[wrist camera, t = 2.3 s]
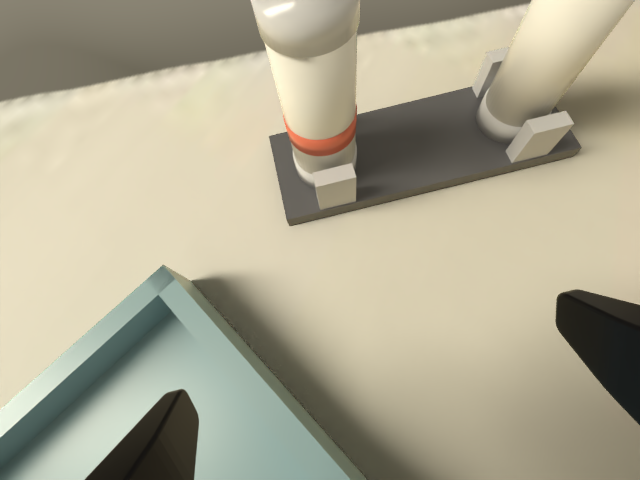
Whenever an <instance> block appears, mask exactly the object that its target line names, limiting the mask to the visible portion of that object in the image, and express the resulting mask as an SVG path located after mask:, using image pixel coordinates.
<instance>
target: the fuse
mask: <svg viewBox="0 0 640 480" xmlns="http://www.w3.org/2000/svg"><path fill="white" fill-rule="evenodd" d="M634 1H635V0H532V1H531V3H530V5H529V7H528V9H527V11H526V13H525V15H524V17H523V20H522V22H521V24H520V26H519V28H518V30H517V32H516V34H515V36H514V38H513V40H512V42H511V45H510V47H509V49H508V51H507V53H506V55H505V57H504V59H503V61H502V63H501V65H500V67H499V70H498V72H497V74H496V76H495V78H494V80H493V82H492V84H491V86H490V87H489V88H488V90H487V91H486V93H485V95H484V97H483V99H482V102H481V104H480V106H479V108H478V110H477V113H476V122H477V125H478V127H479V129H480V130H481V131H482V133H483V134H484V135H486V136H487V137H488V138H490V139H492V140H494V141H496V142H499V143H503V144H511V142H512V141H513V139H514V138H515V136H516V135H517V133H518V132H519V131H520V129H521V128H522V126H523V125H524V123H525V122H526V120H530V119H534V118H538V117H542V116H546V115H550V114H551V112H552V110H553V108H554V107H555V106H556V104H557V103H558V102H559V100H560V99H561V98H562V96H563V95H564V94H565V92H566V91H567V90H568V88H569V87H570V86H571V84H572V83H573V82H574V80H575V79H576V78H577V76H578V75H579V74H580V72H581V71H582V70H583V68H584V67H585V66H586V65H587V63H588V62H589V61H590V59H591V58H592V57H593V55H594V54H595V53H596V51H597V50H598V49H599V47H600V46H601V45H602V43H603V42H604V41H605V39H606V38H607V37H608V35H609V34H610V33H611V31H612V30H613V29H614V27H615V26H616V25H617V23H618V22H619V21H620V19H621V18H622V17H623V16H624V14H625V13H626V12H627V10H628V9H629V8H630V6H631V5H632V4H633V2H634Z"/></svg>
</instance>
